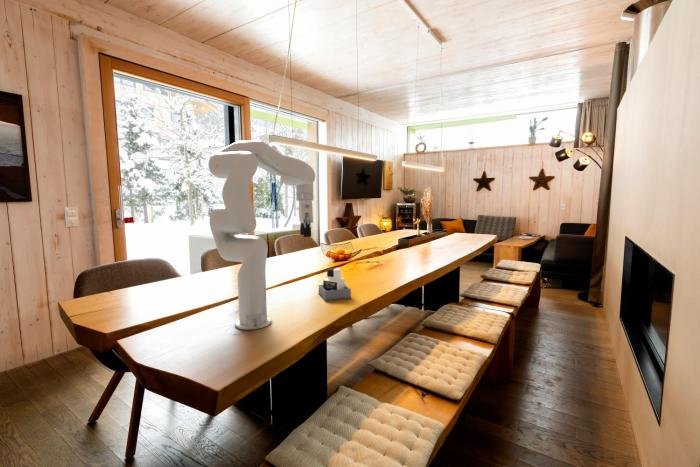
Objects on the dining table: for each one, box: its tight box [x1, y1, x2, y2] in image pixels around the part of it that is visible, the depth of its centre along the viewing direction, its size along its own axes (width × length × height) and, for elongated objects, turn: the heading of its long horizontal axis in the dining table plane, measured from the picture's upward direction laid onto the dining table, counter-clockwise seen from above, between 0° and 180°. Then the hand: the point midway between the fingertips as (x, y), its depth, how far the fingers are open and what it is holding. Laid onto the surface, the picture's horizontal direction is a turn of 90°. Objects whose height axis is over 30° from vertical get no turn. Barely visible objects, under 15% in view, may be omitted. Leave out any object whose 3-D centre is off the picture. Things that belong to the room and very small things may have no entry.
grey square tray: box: [318, 284, 352, 303], centre depth 157 cm, size 12×12×4 cm
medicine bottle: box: [322, 267, 346, 291], centre depth 156 cm, size 7×7×12 cm
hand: (305, 235), depth 157 cm, fingers open, 9 cm apart
